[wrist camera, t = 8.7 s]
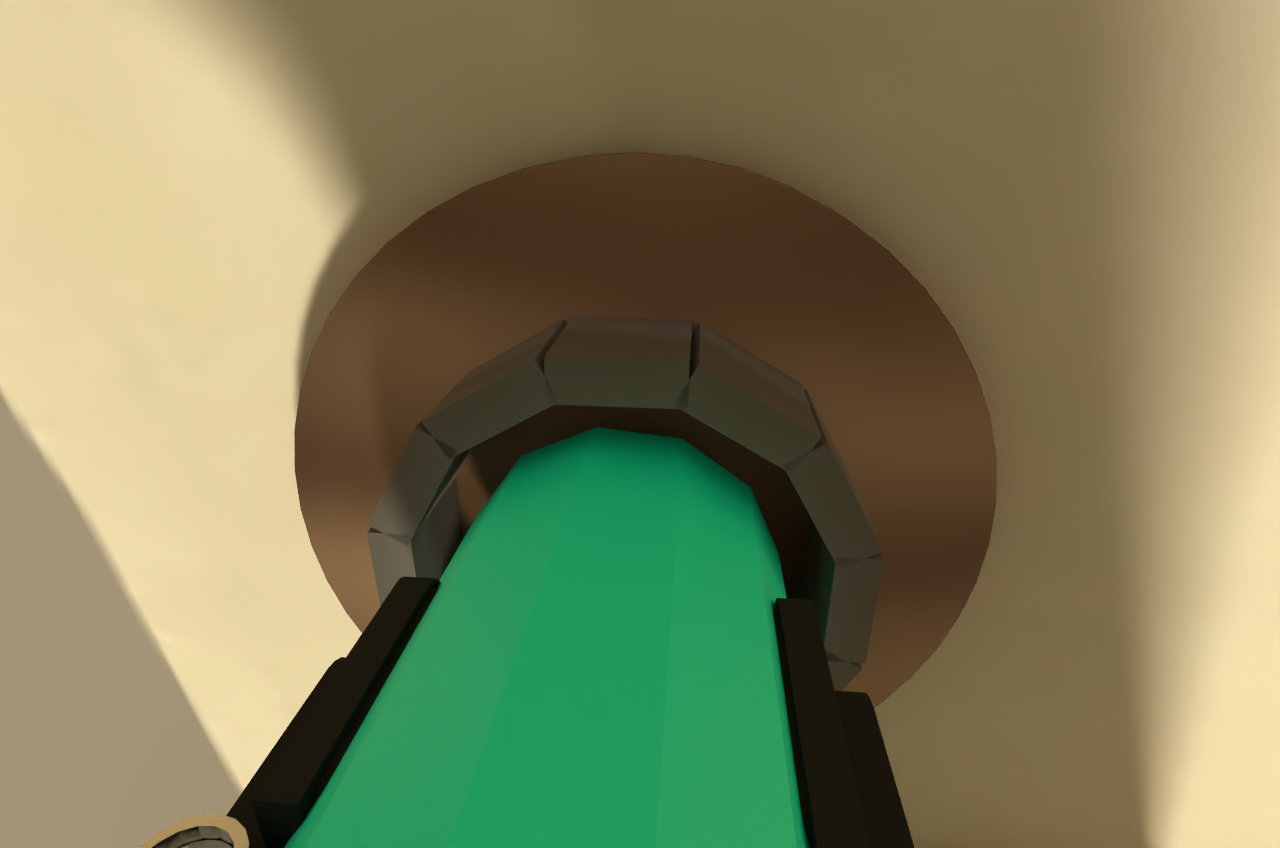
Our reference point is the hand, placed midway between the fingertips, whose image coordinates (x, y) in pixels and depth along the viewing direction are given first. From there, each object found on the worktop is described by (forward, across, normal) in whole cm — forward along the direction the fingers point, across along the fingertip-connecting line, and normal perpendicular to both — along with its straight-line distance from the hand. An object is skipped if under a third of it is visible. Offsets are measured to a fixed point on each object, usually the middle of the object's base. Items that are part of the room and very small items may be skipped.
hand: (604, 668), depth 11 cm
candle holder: (+5, 0, 0) cm, 5 cm away
